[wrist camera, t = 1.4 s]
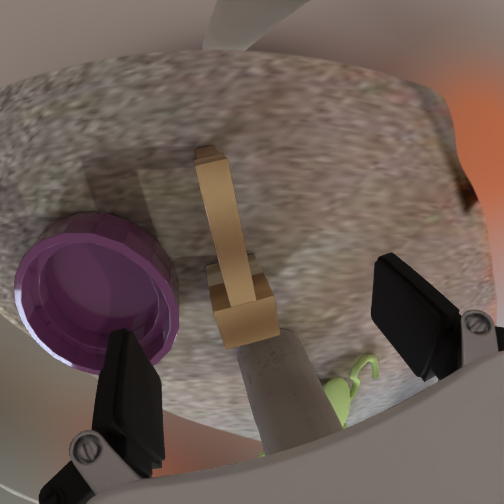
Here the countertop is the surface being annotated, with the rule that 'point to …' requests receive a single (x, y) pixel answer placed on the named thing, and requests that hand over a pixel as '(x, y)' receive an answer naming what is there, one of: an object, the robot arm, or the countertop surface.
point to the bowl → (97, 290)
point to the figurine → (346, 389)
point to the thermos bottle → (285, 393)
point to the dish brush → (233, 260)
